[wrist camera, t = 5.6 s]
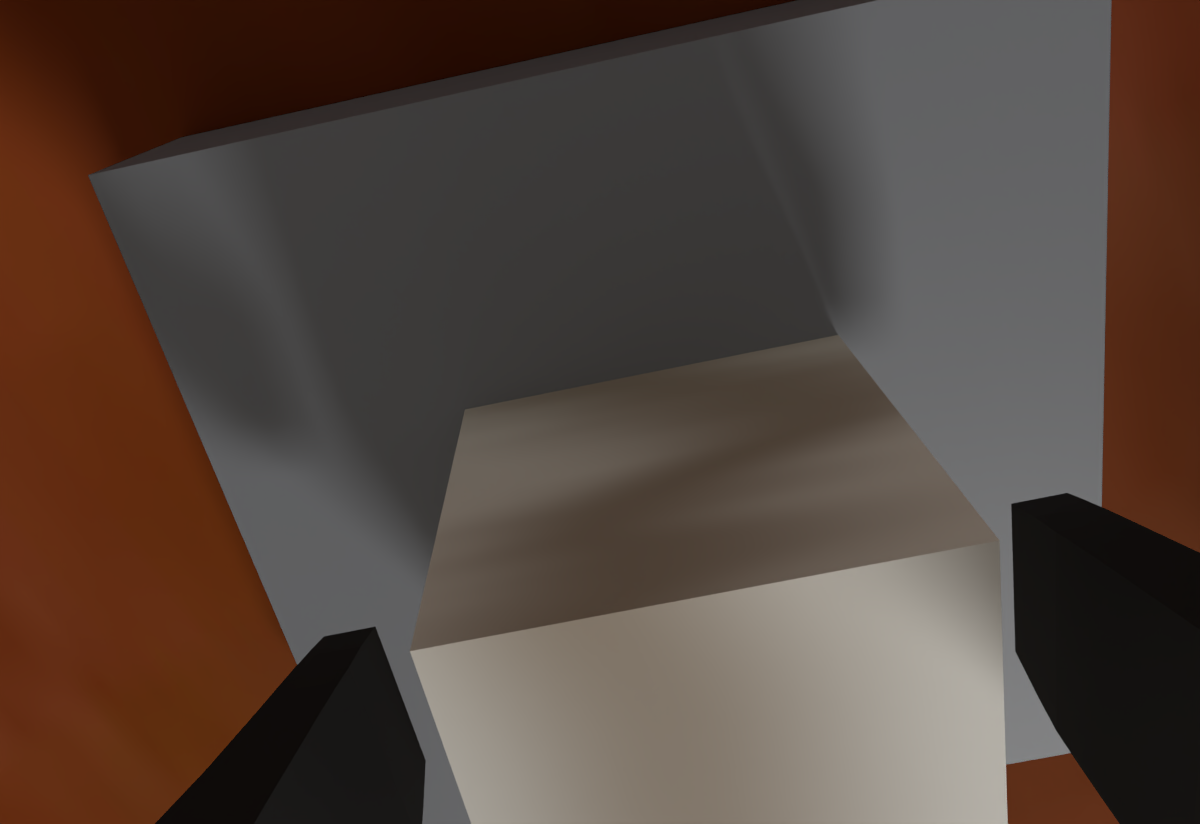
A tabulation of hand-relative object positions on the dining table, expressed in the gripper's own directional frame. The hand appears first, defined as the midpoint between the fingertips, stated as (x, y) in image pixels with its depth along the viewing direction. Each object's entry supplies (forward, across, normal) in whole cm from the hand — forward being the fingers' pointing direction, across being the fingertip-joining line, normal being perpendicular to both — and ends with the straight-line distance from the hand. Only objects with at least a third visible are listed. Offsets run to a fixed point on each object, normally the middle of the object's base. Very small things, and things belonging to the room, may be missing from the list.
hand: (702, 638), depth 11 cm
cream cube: (+3, 0, 0) cm, 3 cm away
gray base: (+6, 0, 0) cm, 6 cm away
